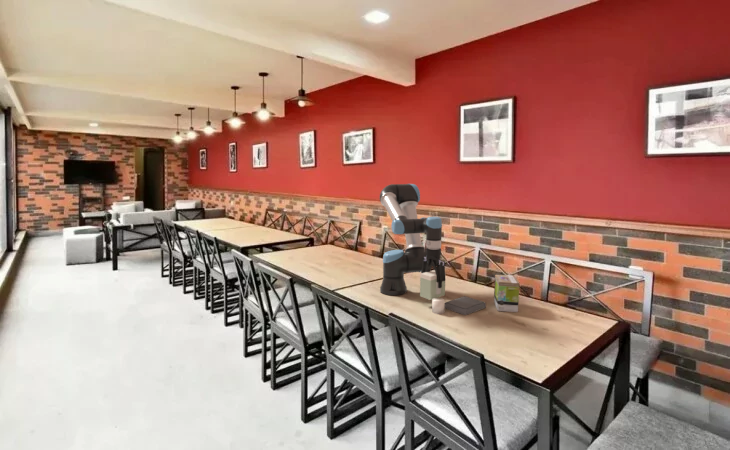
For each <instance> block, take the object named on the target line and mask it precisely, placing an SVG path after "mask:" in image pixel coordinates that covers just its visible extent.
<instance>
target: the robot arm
mask: <svg viewBox="0 0 730 450" xmlns="http://www.w3.org/2000/svg"><path fill="white" fill-rule="evenodd" d="M379 201H380V204H381V205H382V206H383V207H384V208H385V210H386V211H387V214H388V215H389V217H390V219H391V225H390V226H391V231H392V233H393V234H394V235H404V237H405V242H406V248H405V249H404V250H403V249H391V250H388V251H386V252H384V254H383V257H382V263H383V264H382V271H383V272H382V273H383V274H382V277H383V278H382V282H381V285H380V289H379V291H380V293H381V294H384V295H387V296H400V295H404V294H406V293H407V292H408V290H407V289H408V287H407V285H406V284H407V283H406V281H405V273H406V274H409V273H420V274H421V273H425V272H430V271H432V270H431V269H432V267H433V270H435V273H436V275H437V282H436V294H440V293H441V288H442V281H445V282H446V275H445V273H446V267H445V266H446V261H443V260H441V256H442V230H443V221H442V220H443V219H442V217H439V216H428V217H420V218H418V214H417V206H418V204H419V203H420V201H421V192H420V188H419V187H418V185H416V184H415V183H400V184H399V183H397V184H396V183H390V184H388V185H386V186H385V187H384V188H382V189H381V191H380V193H379ZM421 234H425V235H426V236H425V237H426V238H425V239H426V240H425V245H426V246H424V245H422V238H421ZM425 247H426V248H425Z"/></svg>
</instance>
